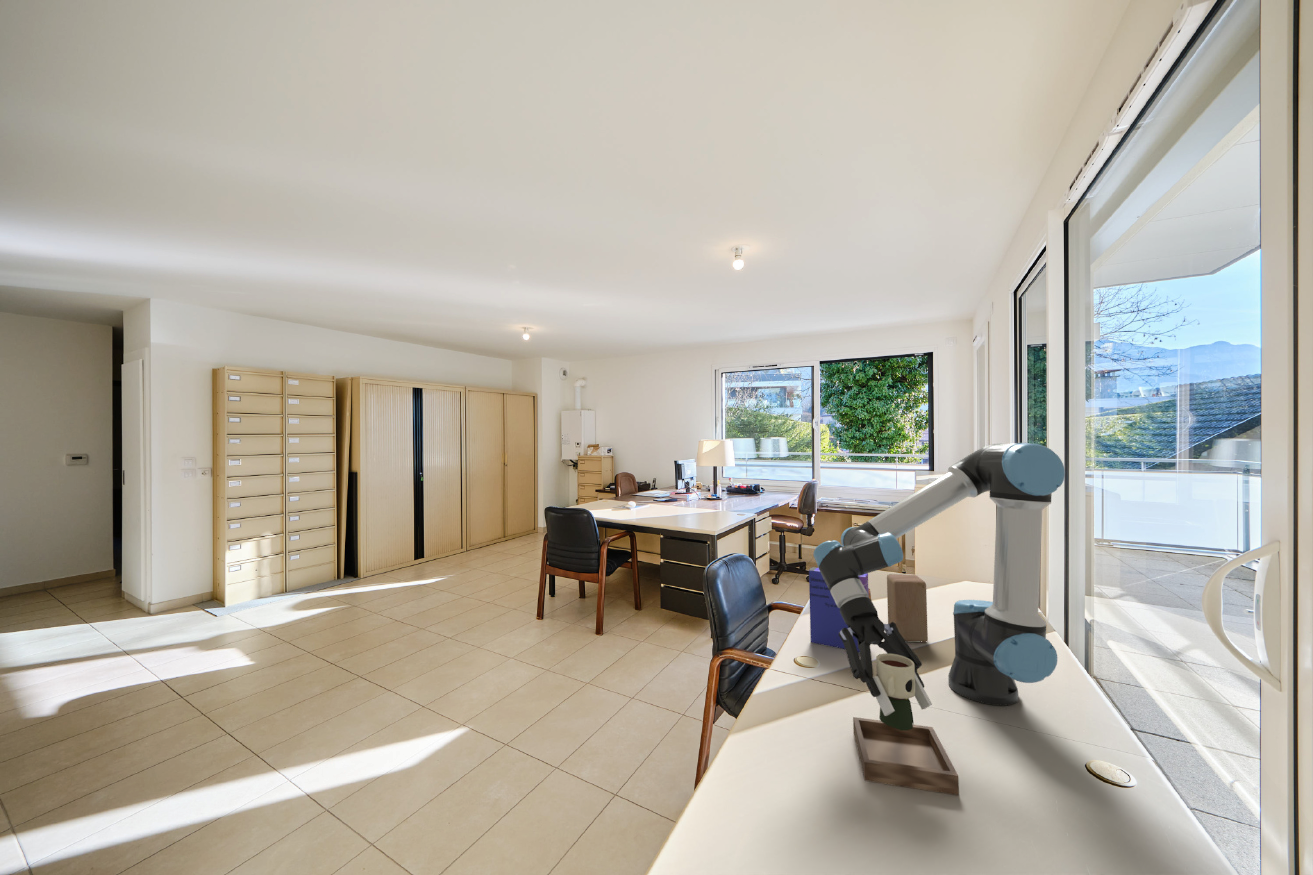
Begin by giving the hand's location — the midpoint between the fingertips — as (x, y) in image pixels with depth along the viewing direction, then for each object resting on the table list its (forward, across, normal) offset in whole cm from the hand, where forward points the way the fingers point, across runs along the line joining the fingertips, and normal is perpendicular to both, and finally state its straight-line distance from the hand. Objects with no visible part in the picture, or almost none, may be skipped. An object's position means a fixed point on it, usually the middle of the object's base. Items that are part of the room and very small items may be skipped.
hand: (908, 710), depth 94 cm
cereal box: (-31, -25, -48) cm, 63 cm away
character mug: (+1, 0, -6) cm, 6 cm away
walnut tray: (+6, -1, -10) cm, 12 cm away
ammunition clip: (-41, -46, -59) cm, 85 cm away
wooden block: (-31, -51, -48) cm, 77 cm away
